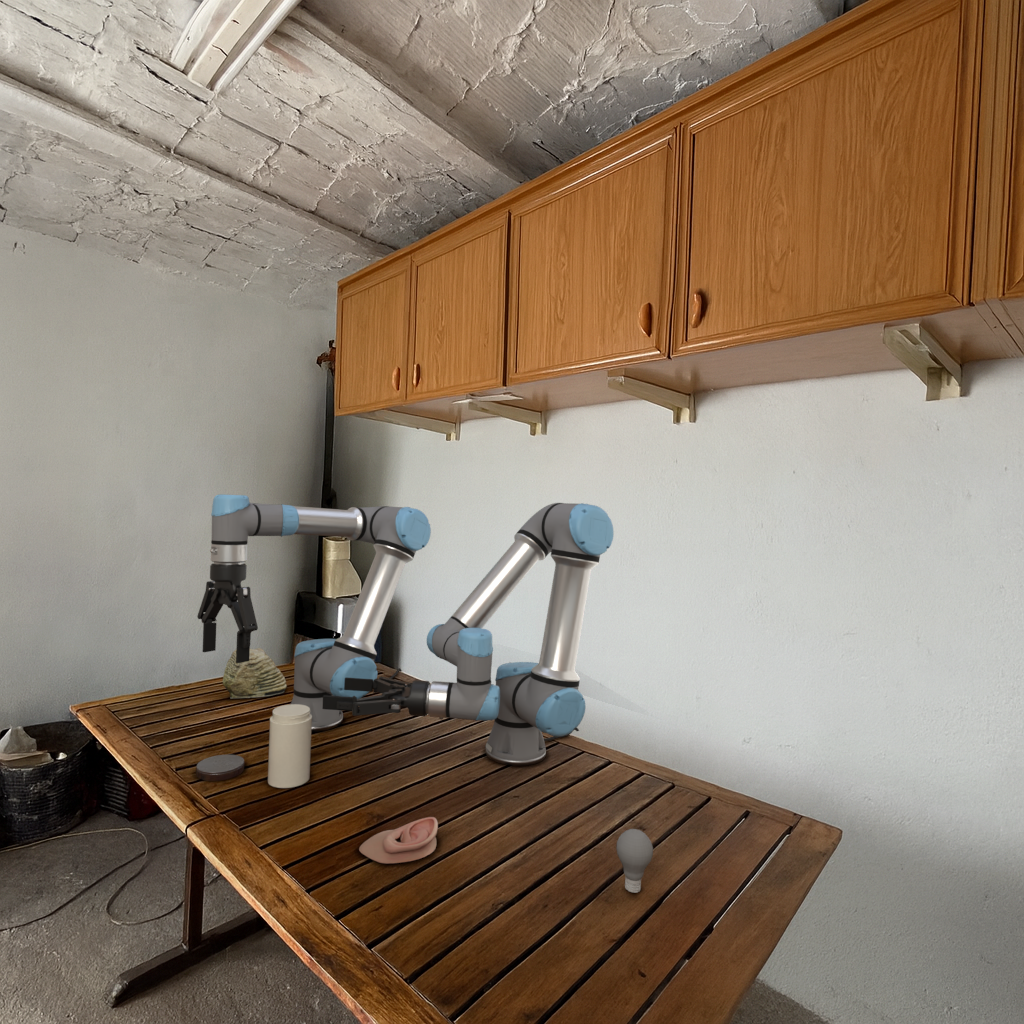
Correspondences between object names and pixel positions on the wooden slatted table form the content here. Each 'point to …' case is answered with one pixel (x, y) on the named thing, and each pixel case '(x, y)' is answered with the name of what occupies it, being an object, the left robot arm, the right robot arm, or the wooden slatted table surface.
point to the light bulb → (634, 857)
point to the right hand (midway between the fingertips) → (334, 692)
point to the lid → (220, 767)
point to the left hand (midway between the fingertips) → (225, 656)
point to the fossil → (253, 676)
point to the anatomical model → (403, 842)
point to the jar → (289, 746)
